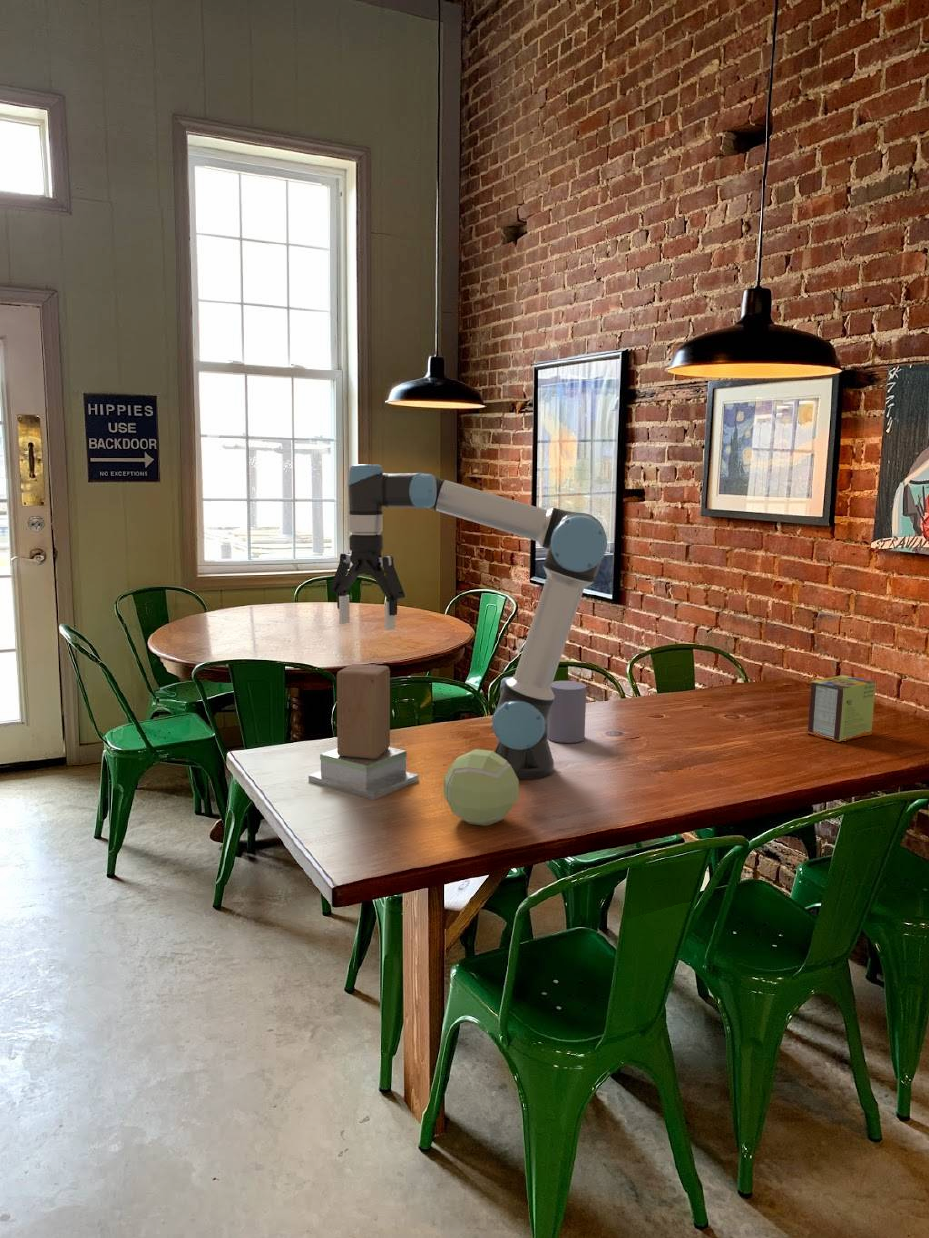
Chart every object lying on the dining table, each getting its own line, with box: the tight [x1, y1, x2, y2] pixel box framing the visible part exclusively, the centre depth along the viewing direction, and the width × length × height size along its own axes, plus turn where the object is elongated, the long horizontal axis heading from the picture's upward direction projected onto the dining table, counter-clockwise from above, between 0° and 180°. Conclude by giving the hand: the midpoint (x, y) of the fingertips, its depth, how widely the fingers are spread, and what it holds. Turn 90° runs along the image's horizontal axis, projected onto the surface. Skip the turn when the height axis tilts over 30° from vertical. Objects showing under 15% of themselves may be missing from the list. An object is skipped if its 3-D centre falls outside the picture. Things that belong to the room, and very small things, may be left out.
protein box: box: [807, 674, 877, 741], centre depth 261 cm, size 10×15×16 cm
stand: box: [308, 746, 419, 801], centre depth 218 cm, size 20×16×7 cm
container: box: [547, 680, 587, 744], centre depth 254 cm, size 10×10×15 cm
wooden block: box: [336, 663, 391, 759], centre depth 216 cm, size 10×10×20 cm
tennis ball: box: [443, 748, 520, 827], centre depth 193 cm, size 15×15×15 cm
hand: (366, 626), depth 214 cm, fingers open, 13 cm apart
